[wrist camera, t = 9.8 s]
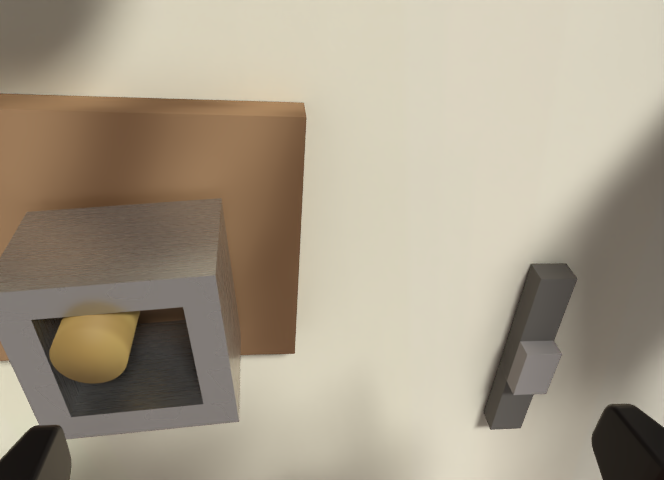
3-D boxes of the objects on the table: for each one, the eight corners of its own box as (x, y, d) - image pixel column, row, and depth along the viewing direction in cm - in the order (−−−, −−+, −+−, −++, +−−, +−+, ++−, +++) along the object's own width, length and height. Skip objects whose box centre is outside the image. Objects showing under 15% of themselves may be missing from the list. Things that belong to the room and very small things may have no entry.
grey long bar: (566, 263, 24) (586, 291, 23) (513, 411, 29) (526, 442, 28) (531, 264, 24) (549, 292, 22) (483, 412, 29) (496, 443, 27)
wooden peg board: (303, 102, 19) (320, 199, 14) (293, 332, 25) (302, 462, 20) (-100, 90, 18) (-247, 193, 12) (-15, 338, 23) (-92, 480, 18)
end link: (221, 198, 19) (215, 275, 16) (240, 335, 22) (239, 421, 19) (27, 212, 18) (-22, 294, 15) (77, 349, 22) (47, 440, 19)
